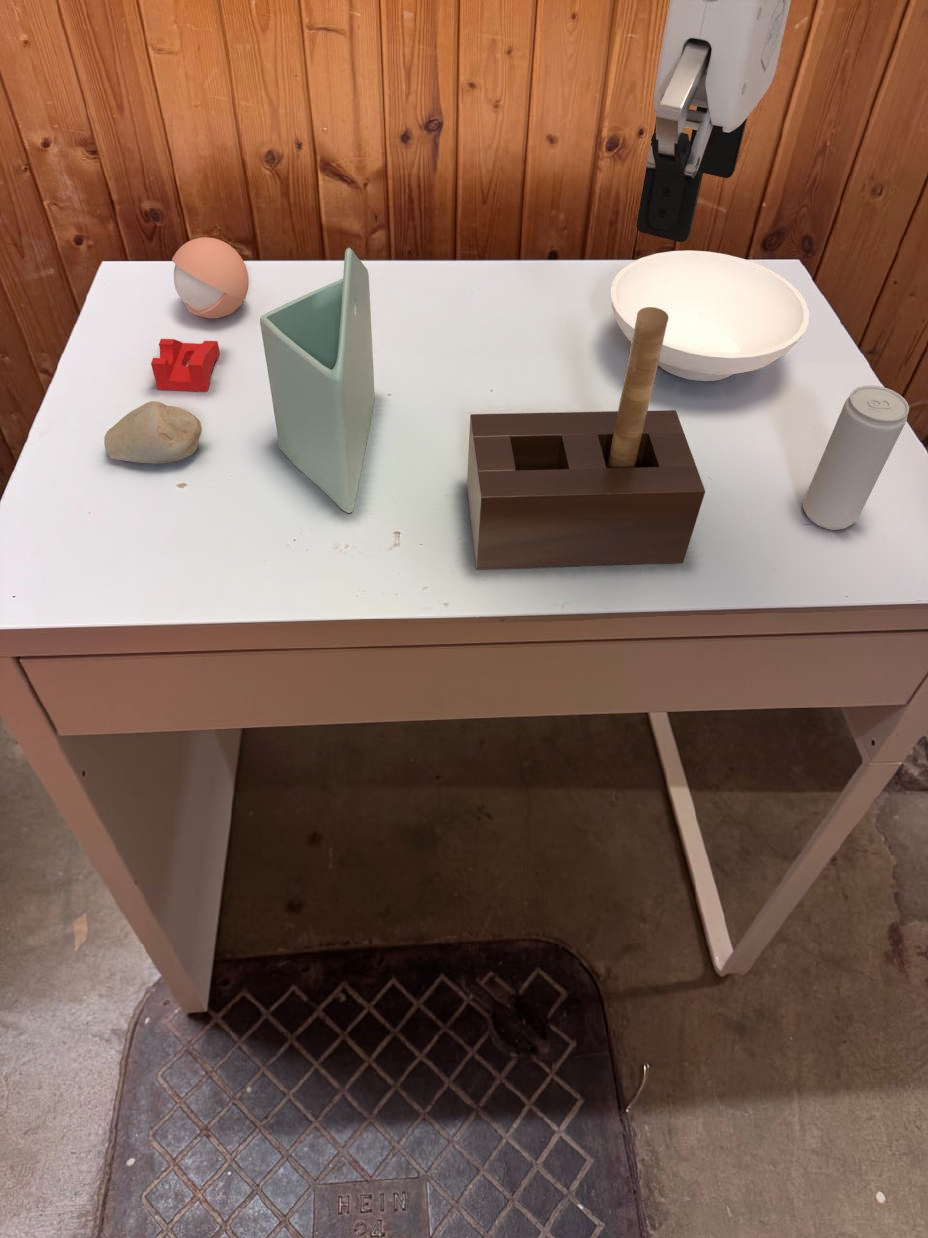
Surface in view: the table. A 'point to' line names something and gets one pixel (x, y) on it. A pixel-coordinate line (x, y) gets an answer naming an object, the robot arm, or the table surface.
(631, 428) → the stirring stick
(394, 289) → the table surface
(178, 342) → the bracket
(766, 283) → the bowl
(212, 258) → the toy ball
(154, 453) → the stone
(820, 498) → the beverage can
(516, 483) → the holder
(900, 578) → the table surface
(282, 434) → the planter
